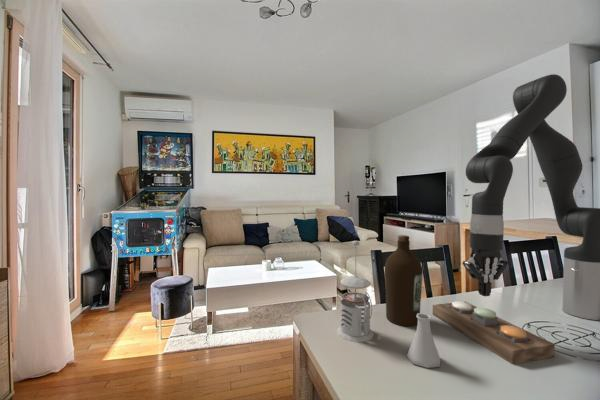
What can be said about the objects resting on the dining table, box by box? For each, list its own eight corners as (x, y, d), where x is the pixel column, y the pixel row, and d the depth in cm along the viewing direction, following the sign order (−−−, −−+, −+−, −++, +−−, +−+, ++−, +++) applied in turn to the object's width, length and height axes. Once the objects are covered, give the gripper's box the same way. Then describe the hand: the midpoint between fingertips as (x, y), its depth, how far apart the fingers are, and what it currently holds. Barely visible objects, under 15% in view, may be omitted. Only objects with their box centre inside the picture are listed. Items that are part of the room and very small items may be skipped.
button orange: (511, 339, 72) (511, 324, 72) (531, 349, 67) (531, 334, 67) (495, 341, 71) (495, 326, 71) (514, 352, 66) (514, 336, 66)
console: (465, 310, 91) (465, 301, 91) (554, 357, 65) (554, 344, 65) (432, 314, 88) (432, 304, 88) (512, 364, 63) (512, 350, 63)
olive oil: (379, 321, 83) (380, 236, 82) (389, 309, 92) (390, 232, 91) (418, 331, 77) (419, 240, 77) (424, 317, 86) (426, 235, 85)
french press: (361, 321, 83) (362, 236, 82) (385, 341, 72) (386, 243, 71) (331, 326, 80) (331, 238, 79) (351, 348, 69) (351, 246, 68)
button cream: (462, 312, 87) (462, 300, 87) (475, 320, 83) (475, 307, 82) (448, 314, 86) (448, 302, 86) (460, 321, 81) (461, 308, 81)
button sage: (484, 320, 80) (484, 306, 79) (500, 328, 75) (500, 314, 75) (469, 322, 78) (469, 308, 78) (484, 330, 74) (485, 316, 73)
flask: (445, 371, 60) (446, 324, 60) (409, 367, 62) (410, 321, 61) (436, 352, 67) (436, 310, 67) (404, 349, 69) (404, 308, 68)
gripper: (494, 229, 81) (492, 289, 82) (454, 229, 78) (453, 292, 79) (519, 232, 74) (517, 298, 74) (477, 233, 71) (475, 302, 71)
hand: (484, 295), depth 76 cm, fingers closed
